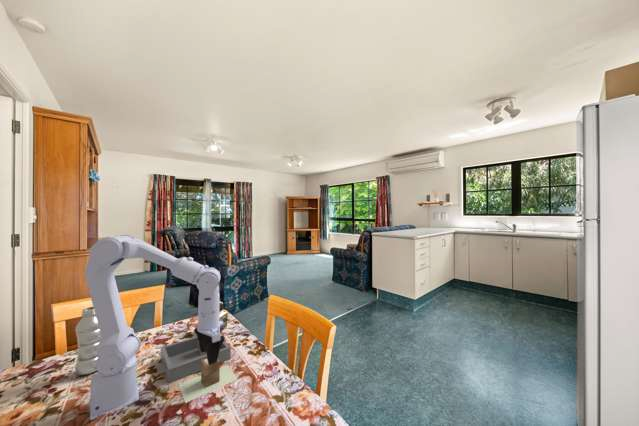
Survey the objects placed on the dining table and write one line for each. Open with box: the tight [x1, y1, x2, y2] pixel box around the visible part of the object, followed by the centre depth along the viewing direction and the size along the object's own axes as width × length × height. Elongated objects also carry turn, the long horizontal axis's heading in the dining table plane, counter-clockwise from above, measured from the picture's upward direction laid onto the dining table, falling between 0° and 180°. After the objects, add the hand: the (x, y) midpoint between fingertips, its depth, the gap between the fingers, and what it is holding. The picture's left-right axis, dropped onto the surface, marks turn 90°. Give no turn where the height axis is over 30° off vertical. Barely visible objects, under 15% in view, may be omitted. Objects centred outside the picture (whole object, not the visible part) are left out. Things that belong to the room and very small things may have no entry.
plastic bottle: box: [74, 306, 101, 376], centre depth 76 cm, size 6×7×20 cm
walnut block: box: [200, 358, 221, 388], centre depth 70 cm, size 4×4×6 cm
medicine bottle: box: [219, 301, 228, 333], centre depth 103 cm, size 7×7×12 cm
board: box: [178, 364, 238, 404], centre depth 70 cm, size 14×9×1 cm, turn 131°
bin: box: [160, 336, 232, 384], centre depth 81 cm, size 18×16×4 cm
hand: (208, 356), depth 70 cm, fingers open, 7 cm apart
